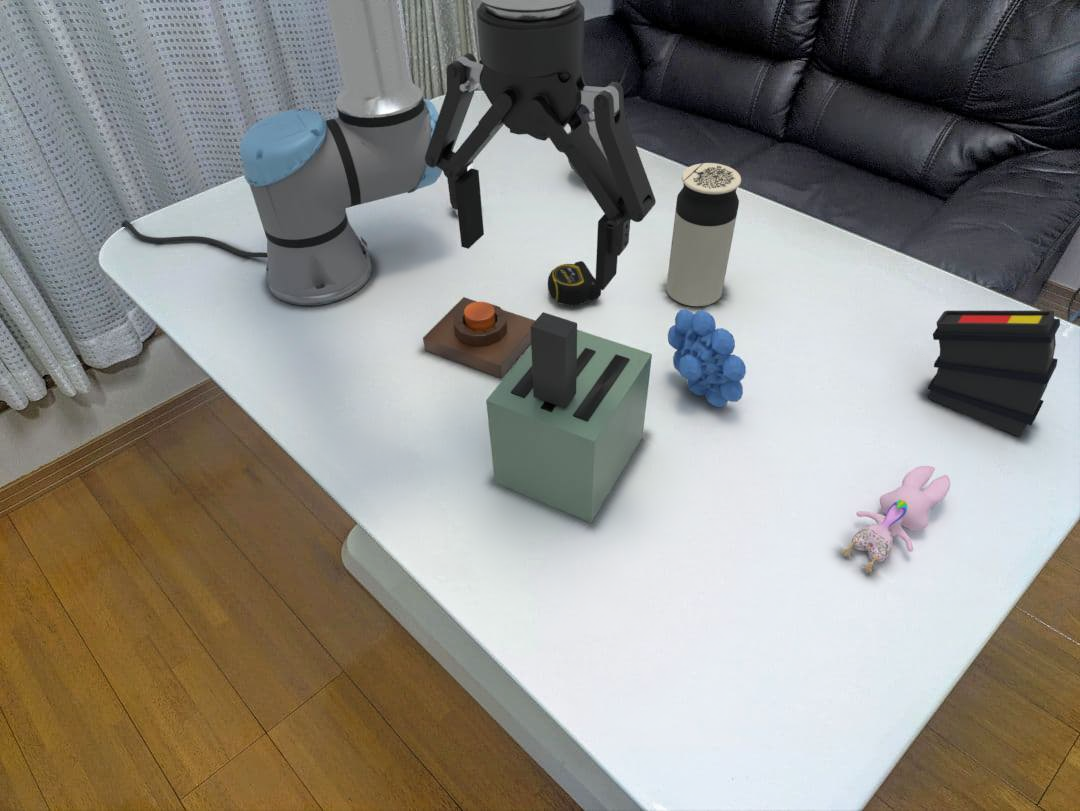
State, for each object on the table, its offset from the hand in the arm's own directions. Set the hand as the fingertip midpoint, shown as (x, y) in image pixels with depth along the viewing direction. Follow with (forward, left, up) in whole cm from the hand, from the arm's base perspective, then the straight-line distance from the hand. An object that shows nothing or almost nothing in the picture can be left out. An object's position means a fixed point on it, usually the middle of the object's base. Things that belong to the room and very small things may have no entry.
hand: (536, 260), depth 66 cm
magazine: (+42, +30, -27) cm, 58 cm away
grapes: (+12, +17, -27) cm, 34 cm away
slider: (+3, -3, -13) cm, 14 cm away
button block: (-17, +14, -27) cm, 35 cm away
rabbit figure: (+37, +8, -27) cm, 47 cm away
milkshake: (-37, +41, -27) cm, 61 cm away
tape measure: (-11, +29, -27) cm, 41 cm away
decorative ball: (-23, +61, -27) cm, 71 cm away
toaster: (+3, +1, -27) cm, 27 cm away
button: (-17, +14, -23) cm, 32 cm away
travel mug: (+4, +38, -27) cm, 47 cm away
